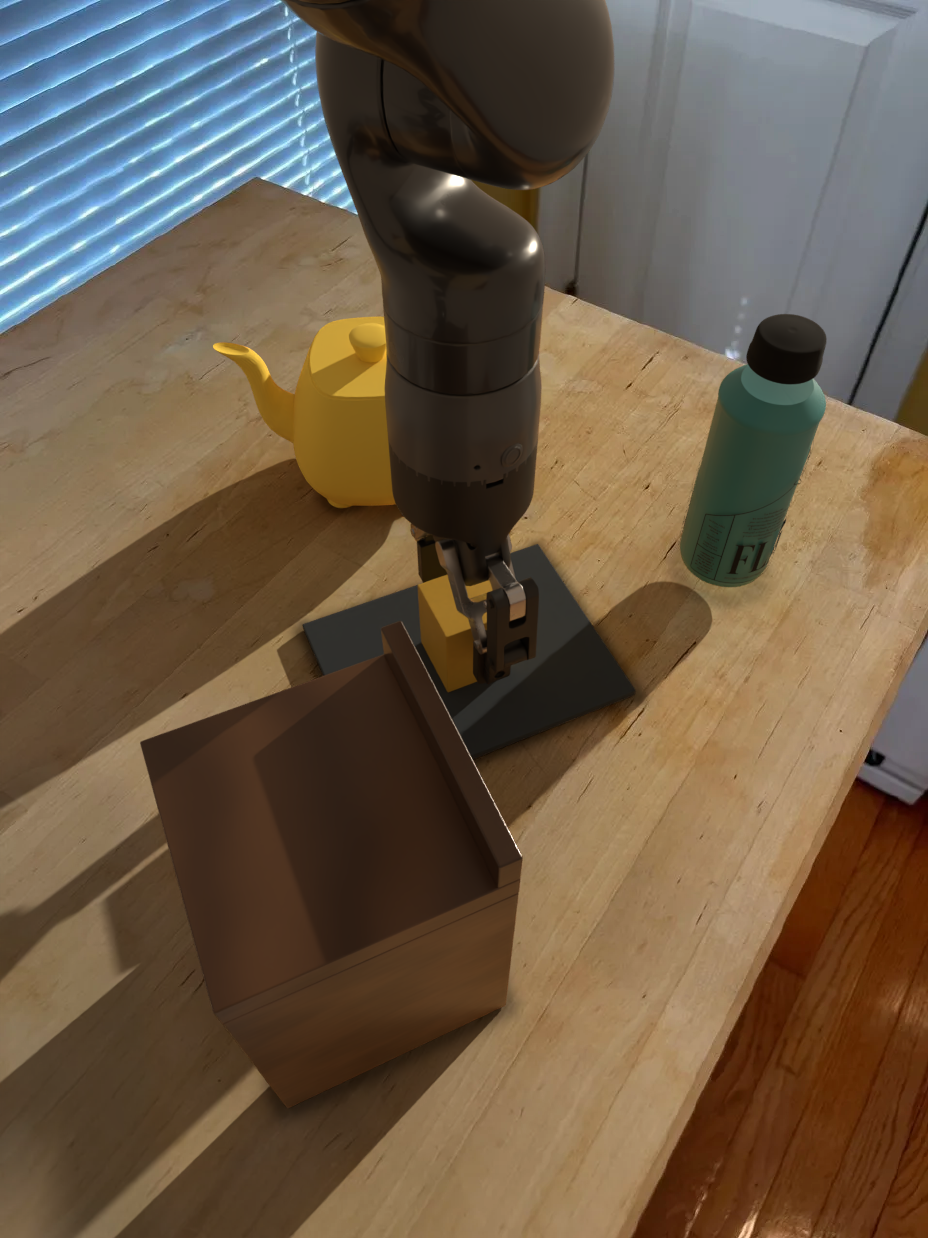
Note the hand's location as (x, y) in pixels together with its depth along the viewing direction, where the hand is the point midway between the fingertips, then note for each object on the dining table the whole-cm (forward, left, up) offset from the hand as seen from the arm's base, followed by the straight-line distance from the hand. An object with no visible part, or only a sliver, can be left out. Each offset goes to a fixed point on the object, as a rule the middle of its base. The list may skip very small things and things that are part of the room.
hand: (463, 624), depth 59 cm
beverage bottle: (+20, 0, -5) cm, 21 cm away
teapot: (+1, +20, -5) cm, 21 cm away
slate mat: (0, 0, -4) cm, 4 cm away
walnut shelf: (-13, -15, -4) cm, 20 cm away
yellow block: (0, 0, -4) cm, 4 cm away
